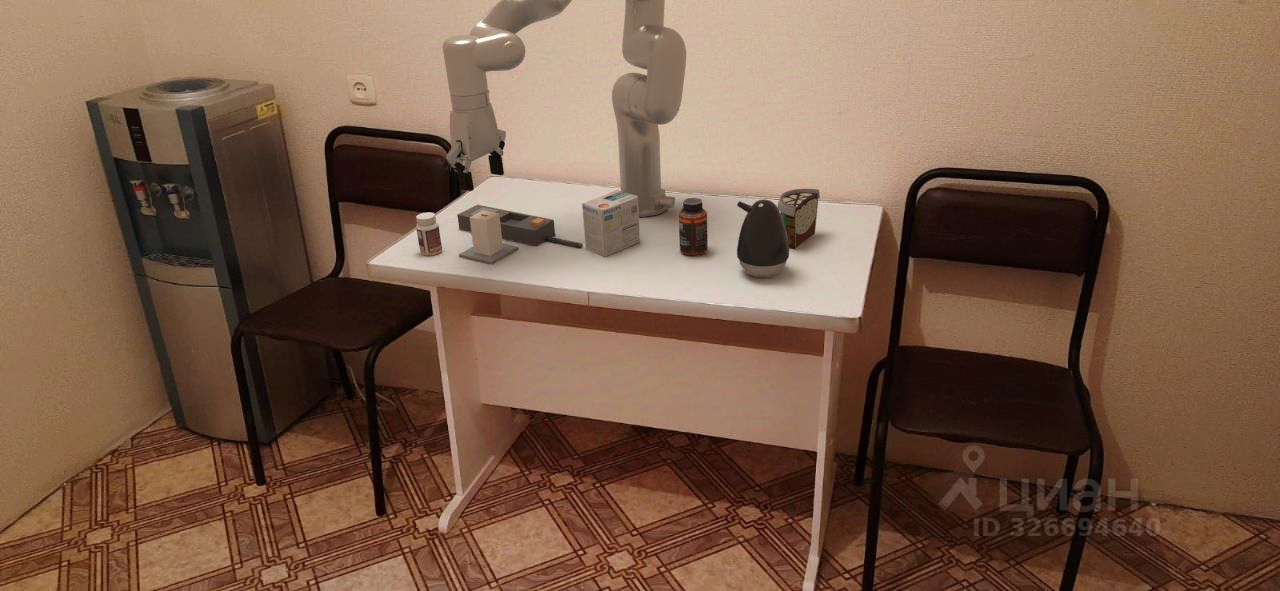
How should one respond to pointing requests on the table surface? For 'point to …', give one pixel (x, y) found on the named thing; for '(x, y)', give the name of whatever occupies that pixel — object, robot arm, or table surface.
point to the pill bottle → (428, 234)
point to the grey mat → (489, 259)
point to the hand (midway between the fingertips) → (482, 182)
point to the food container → (799, 214)
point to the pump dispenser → (762, 239)
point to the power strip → (518, 226)
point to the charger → (486, 233)
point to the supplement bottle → (693, 228)
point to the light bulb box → (611, 222)
